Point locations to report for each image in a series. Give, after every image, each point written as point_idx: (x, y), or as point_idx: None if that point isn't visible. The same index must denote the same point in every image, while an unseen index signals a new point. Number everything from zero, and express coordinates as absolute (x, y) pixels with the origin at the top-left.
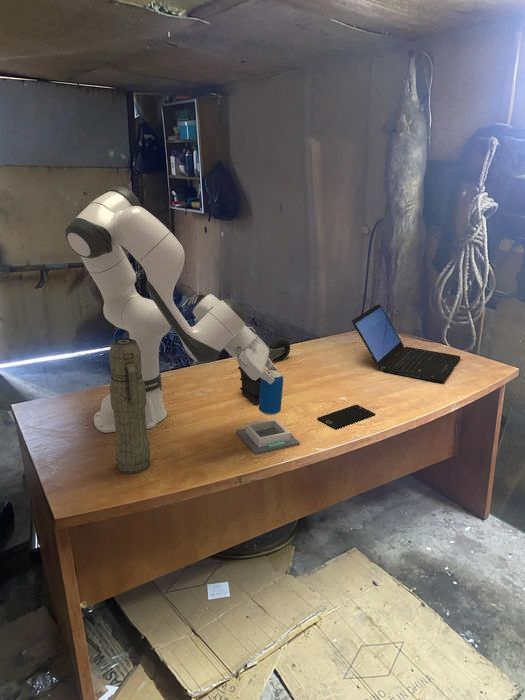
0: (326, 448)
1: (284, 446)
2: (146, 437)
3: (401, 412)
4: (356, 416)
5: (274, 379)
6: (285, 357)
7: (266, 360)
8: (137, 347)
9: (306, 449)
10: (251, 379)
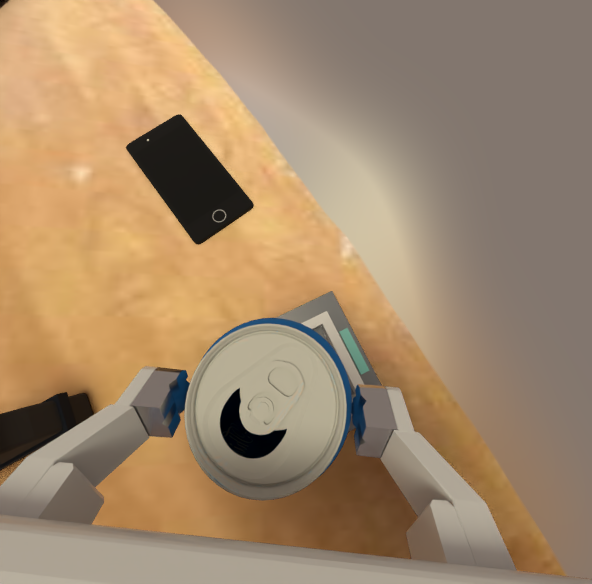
0: (342, 232)
1: (351, 329)
2: None
3: (170, 67)
4: (191, 153)
5: (368, 385)
6: None
7: (214, 556)
8: None
9: (351, 277)
10: None
